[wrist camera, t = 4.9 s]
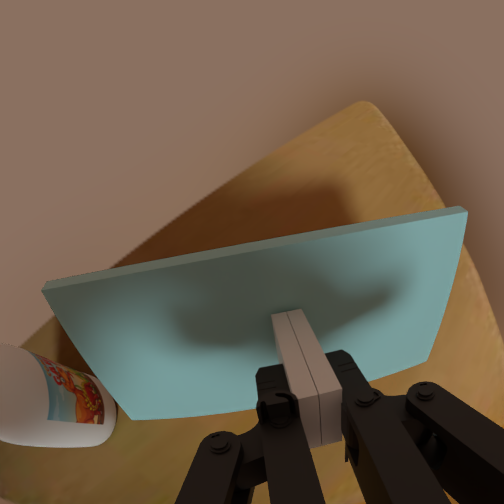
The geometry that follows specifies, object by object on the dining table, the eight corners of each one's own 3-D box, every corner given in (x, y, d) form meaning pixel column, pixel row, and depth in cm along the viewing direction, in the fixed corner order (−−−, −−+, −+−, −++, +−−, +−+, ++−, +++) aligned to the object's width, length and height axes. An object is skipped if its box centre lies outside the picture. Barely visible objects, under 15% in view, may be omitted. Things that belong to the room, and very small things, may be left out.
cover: (133, 411, 20) (132, 420, 19) (46, 281, 14) (41, 290, 13) (422, 353, 21) (426, 361, 20) (459, 205, 14) (468, 211, 14)
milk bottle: (118, 453, 22) (-60, 450, 5) (57, 437, 23) (-105, 404, 6) (121, 379, 26) (-44, 299, 9) (62, 370, 27) (-89, 292, 10)
